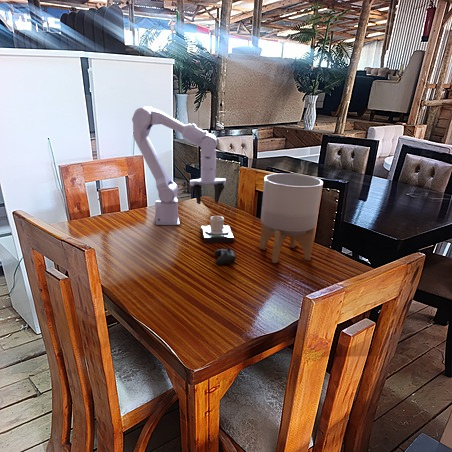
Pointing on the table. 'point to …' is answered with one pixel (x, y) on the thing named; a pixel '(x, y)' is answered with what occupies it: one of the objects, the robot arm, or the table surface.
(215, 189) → the robot arm
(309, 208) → the planter
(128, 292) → the table surface
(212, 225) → the small grey cup
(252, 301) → the table surface
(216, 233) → the scale
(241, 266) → the table surface
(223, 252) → the gaming controller
